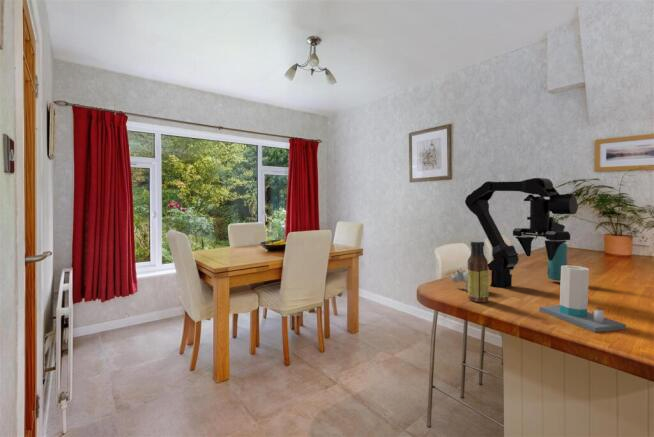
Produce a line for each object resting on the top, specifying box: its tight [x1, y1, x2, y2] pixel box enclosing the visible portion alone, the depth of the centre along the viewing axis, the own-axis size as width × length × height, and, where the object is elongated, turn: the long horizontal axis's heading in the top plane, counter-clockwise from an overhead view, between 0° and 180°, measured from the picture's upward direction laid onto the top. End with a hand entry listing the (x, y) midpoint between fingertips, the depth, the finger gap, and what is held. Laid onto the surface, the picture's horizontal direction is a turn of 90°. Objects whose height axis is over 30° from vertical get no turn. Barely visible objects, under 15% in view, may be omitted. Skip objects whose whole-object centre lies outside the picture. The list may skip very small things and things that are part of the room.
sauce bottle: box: [467, 240, 489, 303], centre depth 105 cm, size 7×6×20 cm
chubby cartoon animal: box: [450, 268, 468, 292], centre depth 118 cm, size 7×12×8 cm, turn 48°
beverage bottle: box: [547, 242, 568, 282], centre depth 128 cm, size 6×7×20 cm
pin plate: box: [539, 304, 627, 333], centre depth 88 cm, size 16×10×4 cm, turn 12°
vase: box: [559, 264, 590, 317], centre depth 90 cm, size 6×6×13 cm
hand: (539, 258), depth 111 cm, fingers open, 9 cm apart
